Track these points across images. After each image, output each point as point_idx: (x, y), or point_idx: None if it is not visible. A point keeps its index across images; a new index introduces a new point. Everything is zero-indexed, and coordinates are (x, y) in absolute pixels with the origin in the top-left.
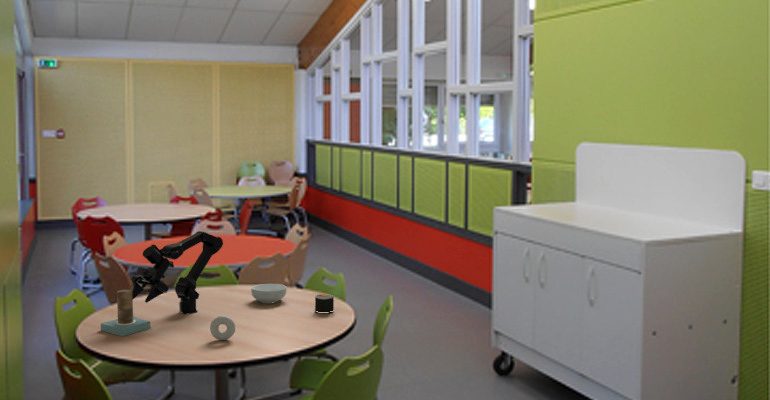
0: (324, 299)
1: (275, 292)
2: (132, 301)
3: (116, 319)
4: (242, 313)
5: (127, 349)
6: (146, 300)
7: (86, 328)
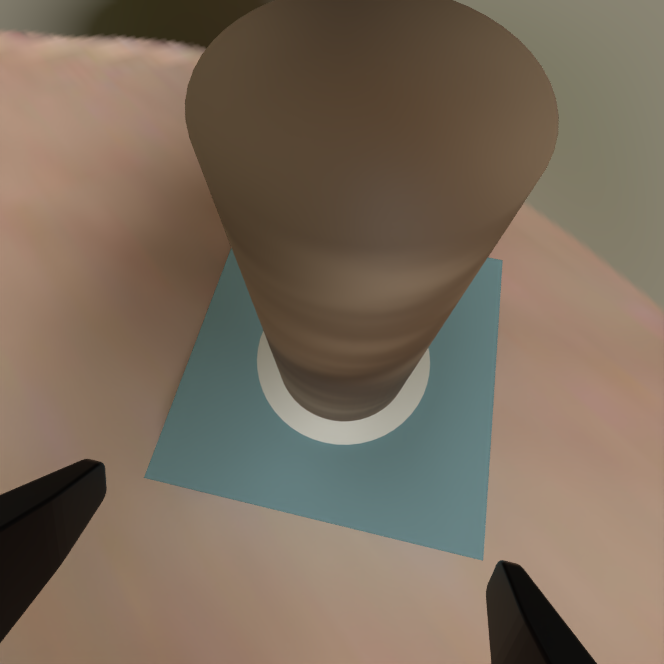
0: None
1: None
2: (254, 301)
3: (487, 397)
4: None
5: (90, 107)
6: (60, 474)
7: (611, 290)
